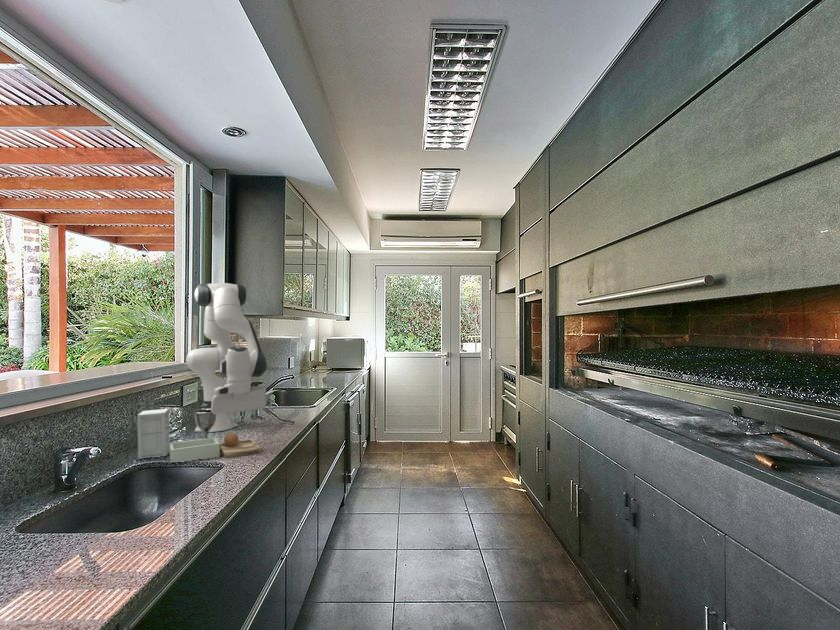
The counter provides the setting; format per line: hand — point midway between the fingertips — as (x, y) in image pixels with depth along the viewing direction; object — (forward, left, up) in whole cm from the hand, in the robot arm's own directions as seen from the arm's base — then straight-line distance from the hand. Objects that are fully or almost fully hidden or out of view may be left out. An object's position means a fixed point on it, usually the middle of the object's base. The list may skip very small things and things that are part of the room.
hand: (239, 422), depth 181 cm
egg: (-2, -2, -7) cm, 8 cm away
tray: (0, 0, -11) cm, 11 cm away
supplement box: (-11, -29, -11) cm, 33 cm away
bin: (0, -16, -11) cm, 19 cm away
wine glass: (-11, -11, -11) cm, 19 cm away
